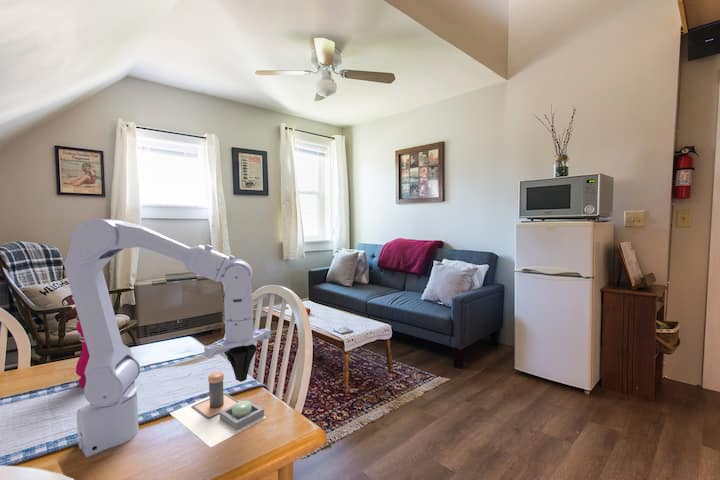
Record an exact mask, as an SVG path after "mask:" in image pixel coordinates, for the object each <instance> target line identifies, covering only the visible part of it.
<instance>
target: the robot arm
mask: <svg viewBox="0 0 720 480" xmlns="http://www.w3.org/2000/svg"><path fill="white" fill-rule="evenodd" d="M69 238H70V242H71V243H70V246H69V248H68V252H67V255H66V258H65V261H64V272H65V274H66V278H67V282H68V286H69V288H70V293H71V297H72V299H73V302H74V305H75V306H74V307H75V310H76V312H77V317H78V321H79V320H80V324H81V327H82V331H83V334H84V338H85V341H86V345H87V348H88V352H89V355H90V357H89V360H88V363H87V366H86V369H85V376H86V384H85V388H83V395H84V397H85V399H86V401H87V402H88V404H86V405H84V406H83V407H82V406H81V407H80V408H78V409H77V410H76V427H77V428H76V429H77V441H78V443H77V444H78V448H79V450H81V451H82V453H83V454H84V456H85V457H86V458H89V457H91V456H93V455H96V454H98V453H100V452H102V451H103V452H104V451H105V450H108V449H111V448H113V447H117V446H119V445H122V444H124V443H127V442H129V441H131V439H133V438H134V437H135V436H137V435H138V433H139V429H140V428H139V411H138V410H139V409H138V408H139V407H138V388H137V386H136V383H135V381H136V380H137V379H138V377H139V376H140V373H141V365H140V362H139V360H138V359H136V358H135V357H134V356H133V354H132V351H131V348H130V347H129V346H127V345H125V344H124V343H123V338H122V337H121V332H120V329H119V326H118V322H117V319H116V314H115V310H114V307H113V304H112V299H111V297H110V293H109V289H108V285H107V281H106V278H105V275H104V271H103V269H104V267H106V265H107V264H108V263H109V262H110V261H111V259H112V258H113V257H114V256H115V255H117V254H119V253H120V252H121V251H124V250H125V249H134V248H143V249H146V250H149V251H151V252H154V253H157V254H160V255H163V256H166V257H168V258H172V259H174V260H176V261H177V260H178V261H179V262H182V263H183V264H184V267H185V269H186V270H187V271H188V272H191V273H194V274H196V275H198V276H201V277H204V278H206V279H209V280H211V281H214V282H217V283H219V282H221V284H222V285H223V287H224V297H223V302H224V303H223V305H224V334H225V335H224V338H222V339H219V340H217V341H216V342H213V343H211V344H208V345H205V346H204V357H206V358H207V359H211V358H215V356H216V355H219V354H223V353H224V355H225V356H226V358H227V359H228V361H229V363H230V365H231V368H232V371H233V373H234V377H235V381H237V382H240V383H241V382H244V381H247V379H248V375H249V369H250V365H251V363H252V360H253V358H254V356H255V354H256V353H257V350H258V346H257V345H255V343H257V342H259V341H264V340H265V339H266V340H269V339H271V338H272V331H271V329H268V328H267V327H265V328H261V329H256V330H254V328H255V327H254V300H253V299H254V298H253V293H252V292H253V287H252V280H253V269H252V268H253V267H252V266H251V265H250V264H249V263H248V262H246V261H245V260H244V259H242V258H241V259H239V258H238V259H235V258H236V256H234V255H232V254H230V255H226V254H224V253H221V252H219V251H217V250H214V249H213V248H214V246H212V245H210V244H205V245H202V244H198V245H196V246H192V247H190V246H188V245H186V244H184V243H181V242H179V241H177V240H174V239H172V238H170V237H168V236H165V235H163V234H162V233H159V232H157V231H155V230H152V229H151V228H148V227H146V226H143V225H141V224H138V223H133V222H128V221H126V220H124V219H121V218H110V219H104V218H88V219H85V220H84V221H83V222H81V223H80V224H79V225H77V227H76V228H75V229H74V230H73V231H72V232H71V233H70V234H69ZM94 447H95V448H94ZM93 448H94V449H93Z"/></svg>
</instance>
